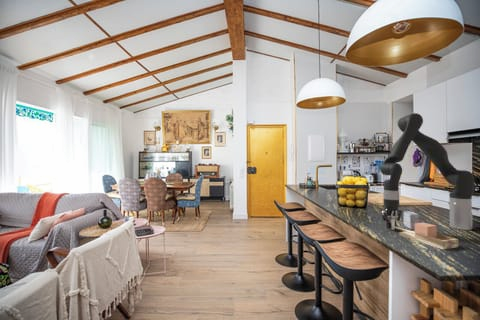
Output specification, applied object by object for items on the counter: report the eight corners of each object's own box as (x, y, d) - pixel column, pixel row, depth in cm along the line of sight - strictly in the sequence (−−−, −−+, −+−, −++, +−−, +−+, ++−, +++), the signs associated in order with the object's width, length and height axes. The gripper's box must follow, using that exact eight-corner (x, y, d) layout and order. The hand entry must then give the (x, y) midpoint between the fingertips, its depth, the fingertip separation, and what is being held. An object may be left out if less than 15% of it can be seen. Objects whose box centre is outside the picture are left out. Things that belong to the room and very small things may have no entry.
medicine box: (419, 229, 127) (419, 214, 127) (410, 229, 128) (410, 214, 128) (411, 225, 135) (411, 211, 135) (403, 225, 136) (403, 211, 136)
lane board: (413, 233, 121) (413, 226, 121) (458, 246, 102) (458, 239, 102) (399, 235, 119) (399, 228, 119) (442, 249, 99) (442, 241, 99)
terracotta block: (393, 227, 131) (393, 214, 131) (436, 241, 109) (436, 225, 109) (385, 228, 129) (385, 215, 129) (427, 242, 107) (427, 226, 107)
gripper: (394, 196, 134) (394, 225, 134) (375, 197, 130) (376, 227, 130) (407, 198, 127) (407, 229, 127) (387, 200, 123) (388, 231, 123)
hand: (391, 228), depth 128 cm, fingers closed on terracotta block, 3 cm apart
